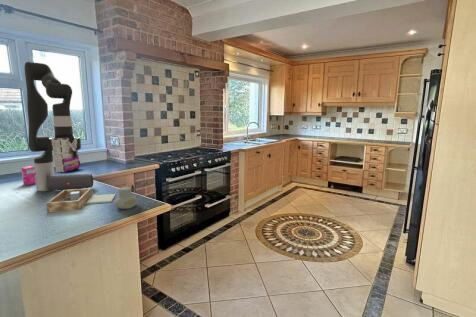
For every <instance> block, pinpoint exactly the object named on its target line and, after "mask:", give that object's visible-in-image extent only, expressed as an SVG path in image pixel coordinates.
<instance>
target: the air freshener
mask: <svg viewBox="0 0 476 317" xmlns="http://www.w3.org/2000/svg"><path fill="white" fill-rule="evenodd" d="M132 192H133V190H132V187H130V186H123V187H120V188H119V189H118V197H116V198H114V202H113V203H114V204H113V205H114V206H115V207H116V208H118V209H121V210H129V209H131V208H134V207H135V206H136V205H137V204H138V197H136V196H135V195H133V193H132Z"/></svg>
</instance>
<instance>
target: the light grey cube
mask: <svg viewBox="0 0 476 317" xmlns="http://www.w3.org/2000/svg"><path fill="white" fill-rule="evenodd" d="M70 197H71V198H70V201H77V200H78V199H79V198H80V191H77V192H71V193H70Z"/></svg>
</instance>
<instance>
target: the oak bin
mask: <svg viewBox="0 0 476 317" xmlns="http://www.w3.org/2000/svg"><path fill="white" fill-rule="evenodd" d="M77 191H80V198H79V199H78V200H76V201H71V200H69V201H68V200H67V201H66V200H65V199H71V197H70V193H71V192H77ZM92 196H93V193H92V187H91V188H84V189H72V190H63V191H60V192H58V193H57V194H56V195H55V196H54V197H52V198H51V199H50V200H48V201H47V202H46V203H45V204H46V205H45V206H46V212H47V213H53V212H54V213H55V212H66V211H67V212H69V211H79V210H81V208H83V206H84V205H85V204H87V201H88V200H89V199H90V198H91V197H92Z"/></svg>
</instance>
